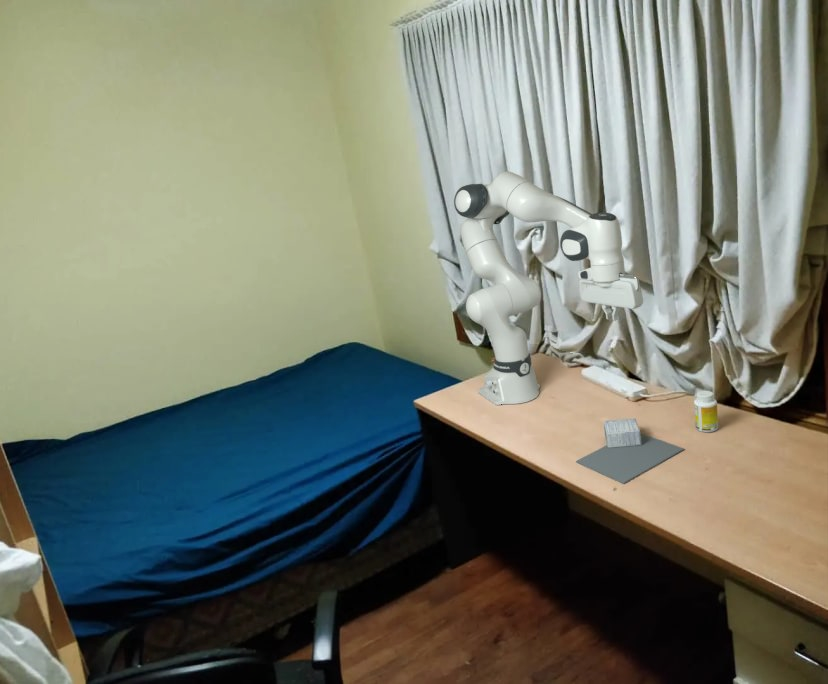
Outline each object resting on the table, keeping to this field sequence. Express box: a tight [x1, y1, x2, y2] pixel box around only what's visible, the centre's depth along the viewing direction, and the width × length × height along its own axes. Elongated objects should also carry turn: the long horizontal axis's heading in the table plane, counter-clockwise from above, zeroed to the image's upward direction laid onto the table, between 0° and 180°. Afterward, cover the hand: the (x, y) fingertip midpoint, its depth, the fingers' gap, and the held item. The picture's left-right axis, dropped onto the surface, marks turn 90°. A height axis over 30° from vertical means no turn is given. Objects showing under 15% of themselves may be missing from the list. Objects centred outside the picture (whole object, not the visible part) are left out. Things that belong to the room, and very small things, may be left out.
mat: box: [575, 432, 685, 485], centre depth 163 cm, size 16×22×1 cm
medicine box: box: [603, 418, 641, 448], centre depth 171 cm, size 8×4×9 cm
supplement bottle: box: [693, 390, 719, 433], centre depth 168 cm, size 6×6×10 cm
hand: (612, 319), depth 179 cm, fingers closed
